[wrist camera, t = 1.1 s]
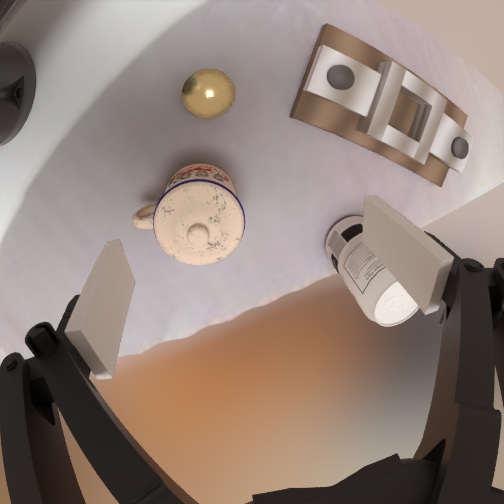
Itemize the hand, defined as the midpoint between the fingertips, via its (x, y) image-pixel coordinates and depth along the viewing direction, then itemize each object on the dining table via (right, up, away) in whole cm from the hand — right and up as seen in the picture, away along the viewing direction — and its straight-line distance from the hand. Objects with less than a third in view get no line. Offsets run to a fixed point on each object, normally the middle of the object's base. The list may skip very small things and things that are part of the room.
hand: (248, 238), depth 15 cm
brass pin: (-5, +17, +15) cm, 23 cm away
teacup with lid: (-8, +6, +21) cm, 23 cm away
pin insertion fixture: (+19, +18, +18) cm, 32 cm away
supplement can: (+14, +1, +27) cm, 31 cm away
